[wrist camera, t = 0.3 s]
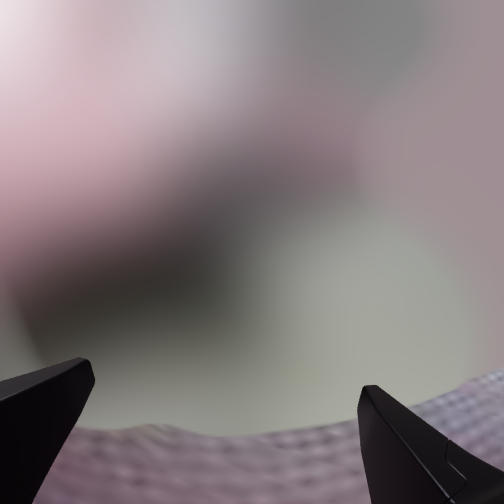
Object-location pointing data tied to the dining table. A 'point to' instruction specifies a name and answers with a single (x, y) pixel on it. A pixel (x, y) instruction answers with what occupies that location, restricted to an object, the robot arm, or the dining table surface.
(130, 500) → the dining table surface
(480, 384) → the dining table surface
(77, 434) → the dining table surface
